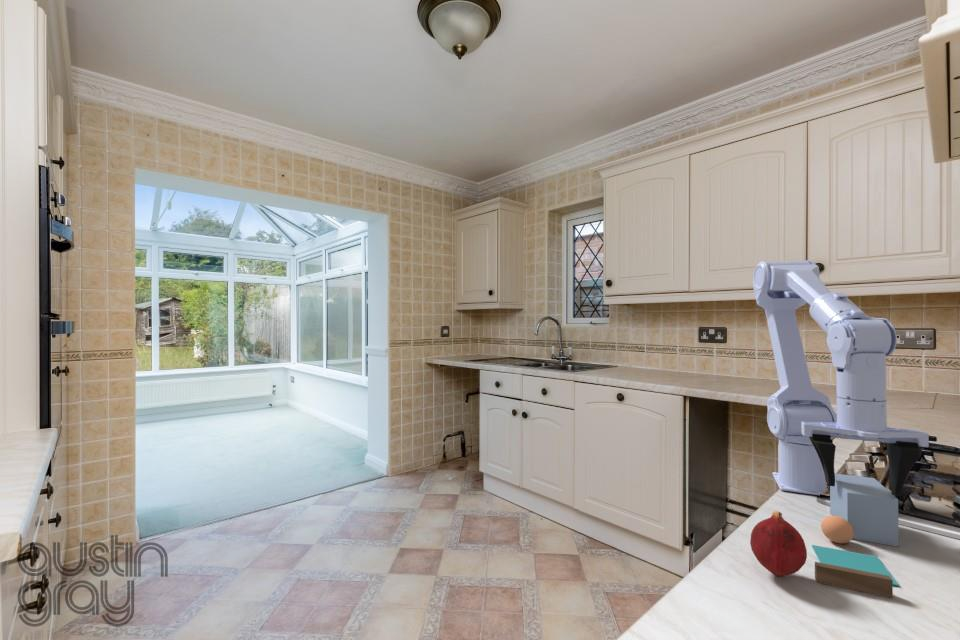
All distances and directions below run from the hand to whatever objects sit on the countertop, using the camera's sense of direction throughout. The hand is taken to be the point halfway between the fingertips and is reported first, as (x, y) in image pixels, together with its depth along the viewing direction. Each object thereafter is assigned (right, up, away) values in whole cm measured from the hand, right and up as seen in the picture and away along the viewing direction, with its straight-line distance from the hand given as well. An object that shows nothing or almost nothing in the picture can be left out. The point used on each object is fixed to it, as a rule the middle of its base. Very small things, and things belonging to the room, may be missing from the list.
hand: (861, 488), depth 66 cm
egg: (-7, -4, -4) cm, 9 cm away
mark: (-10, -6, -10) cm, 15 cm away
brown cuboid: (-14, -6, -14) cm, 21 cm away
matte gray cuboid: (0, -6, 0) cm, 6 cm away
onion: (-21, -7, -12) cm, 25 cm away
